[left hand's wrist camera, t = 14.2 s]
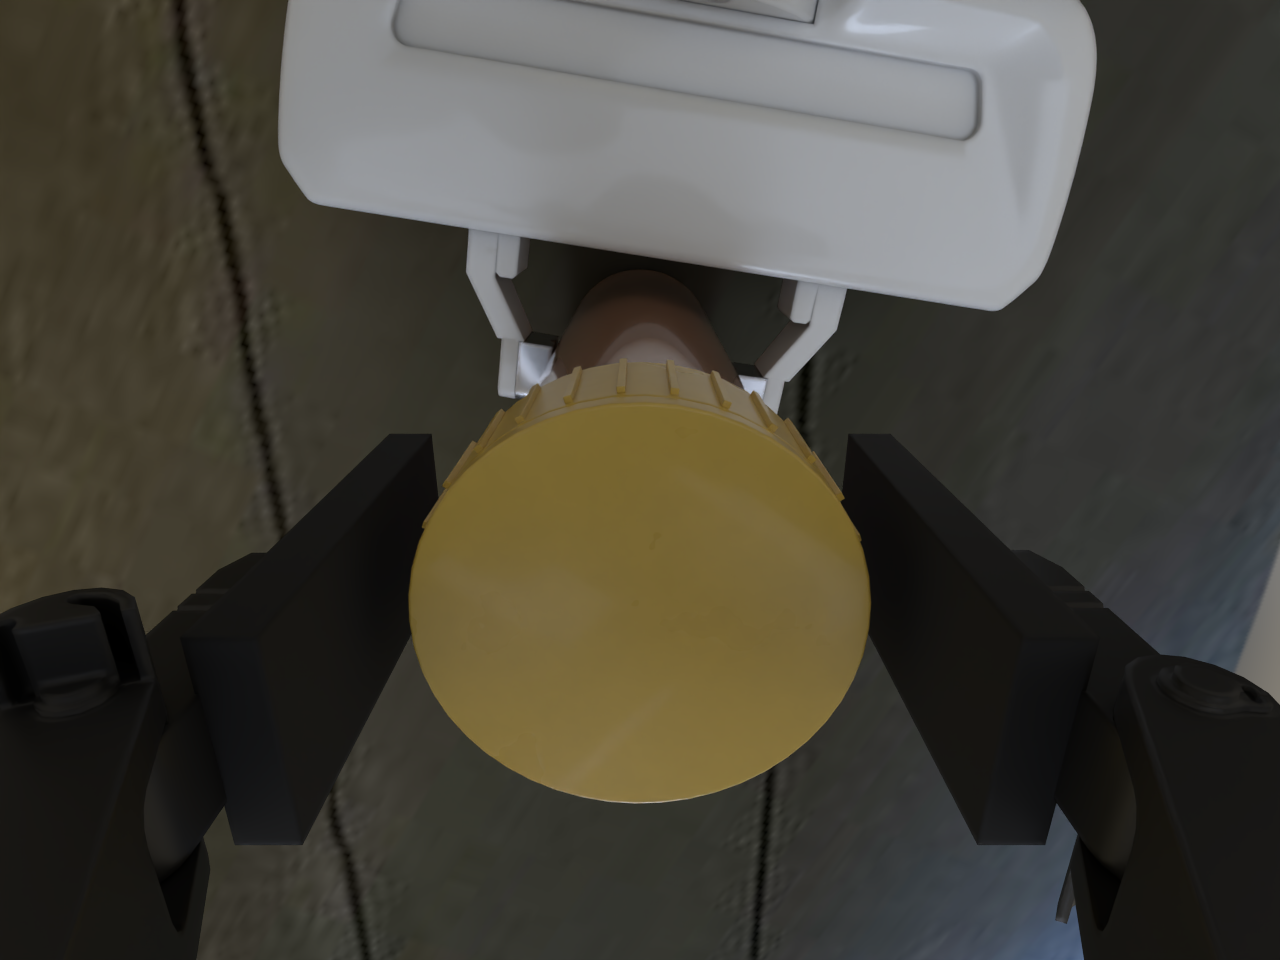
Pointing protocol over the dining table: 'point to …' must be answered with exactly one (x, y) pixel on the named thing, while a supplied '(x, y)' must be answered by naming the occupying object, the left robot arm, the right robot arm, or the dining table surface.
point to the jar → (639, 328)
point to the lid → (639, 586)
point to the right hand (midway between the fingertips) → (636, 411)
